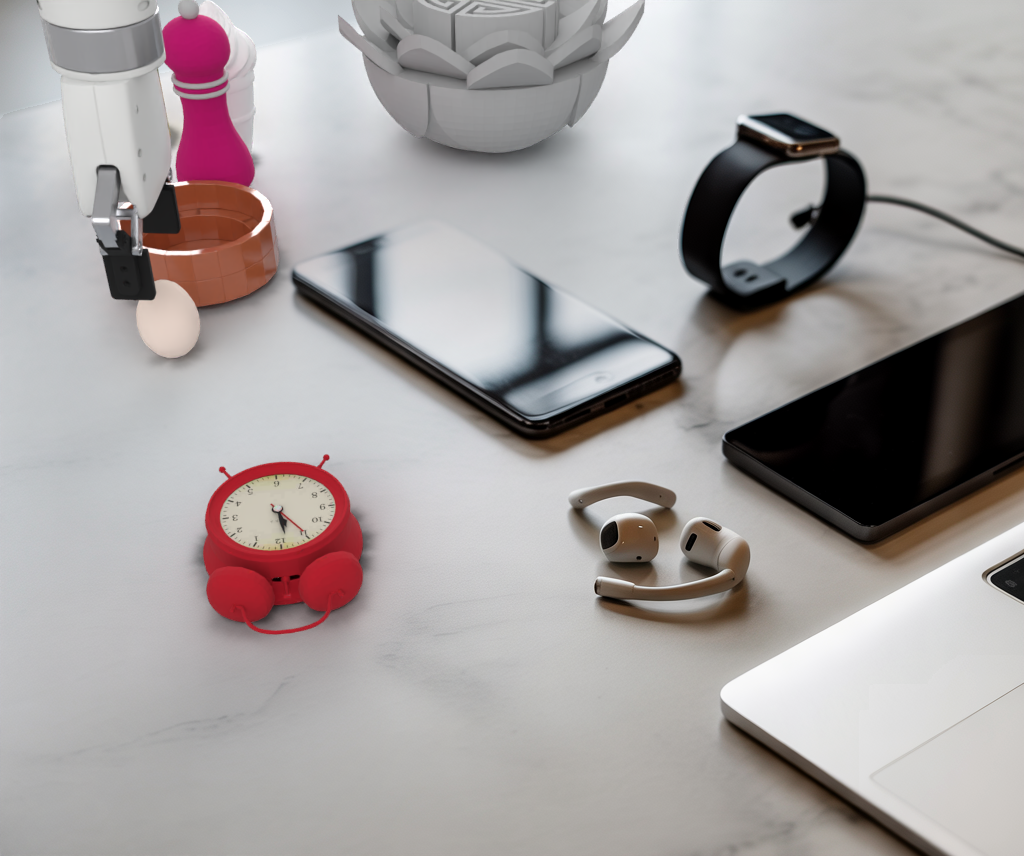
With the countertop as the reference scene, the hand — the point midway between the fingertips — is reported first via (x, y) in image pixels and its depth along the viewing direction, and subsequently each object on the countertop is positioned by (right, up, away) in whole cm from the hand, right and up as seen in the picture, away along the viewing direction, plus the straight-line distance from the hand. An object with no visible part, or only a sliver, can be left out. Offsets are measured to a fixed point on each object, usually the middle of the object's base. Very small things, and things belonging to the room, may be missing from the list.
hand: (148, 263), depth 90 cm
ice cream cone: (-1, +17, +31) cm, 36 cm away
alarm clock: (+13, -23, -13) cm, 29 cm away
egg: (+1, -6, +5) cm, 8 cm away
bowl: (0, +2, +15) cm, 15 cm away
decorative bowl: (+26, +22, +38) cm, 51 cm away
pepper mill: (0, +10, +23) cm, 25 cm away
